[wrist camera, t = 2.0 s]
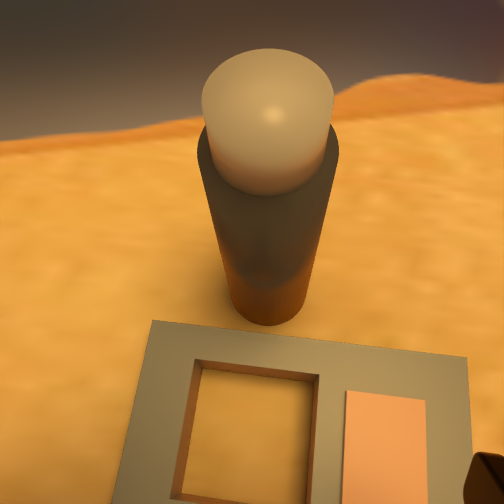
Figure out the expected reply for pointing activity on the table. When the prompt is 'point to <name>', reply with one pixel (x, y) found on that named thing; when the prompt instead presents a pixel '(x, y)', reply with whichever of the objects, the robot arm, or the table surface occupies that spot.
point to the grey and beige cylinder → (268, 175)
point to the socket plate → (323, 416)
